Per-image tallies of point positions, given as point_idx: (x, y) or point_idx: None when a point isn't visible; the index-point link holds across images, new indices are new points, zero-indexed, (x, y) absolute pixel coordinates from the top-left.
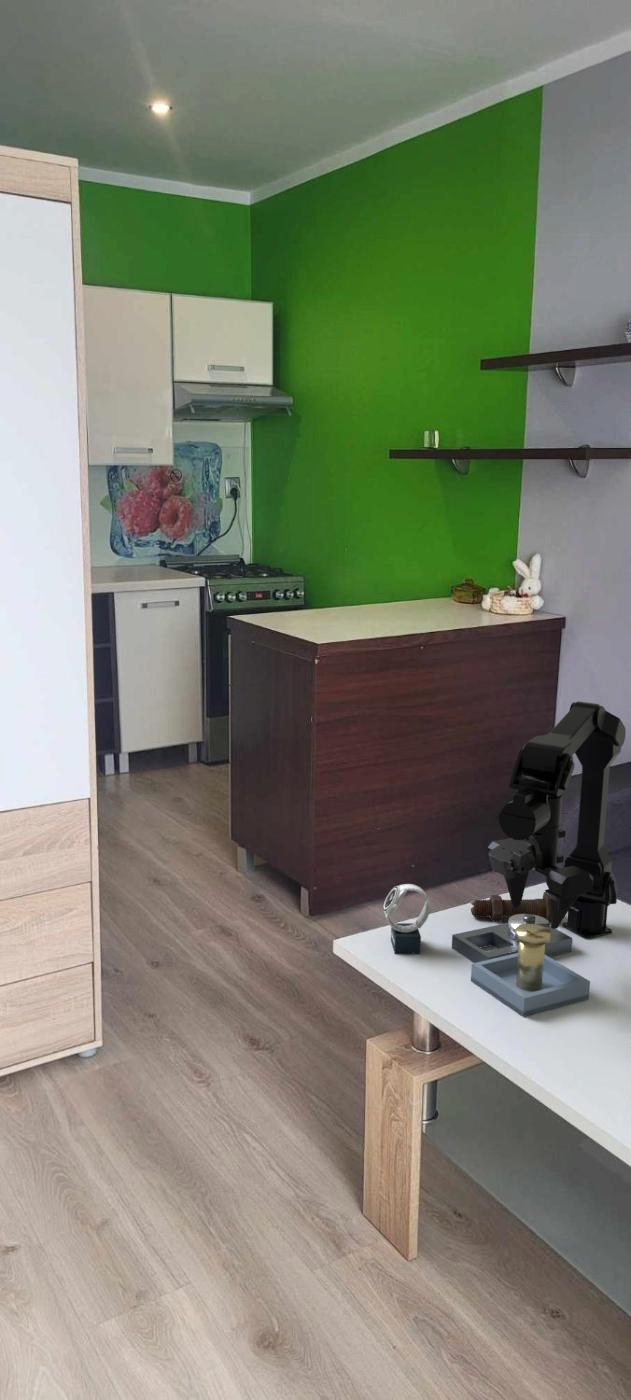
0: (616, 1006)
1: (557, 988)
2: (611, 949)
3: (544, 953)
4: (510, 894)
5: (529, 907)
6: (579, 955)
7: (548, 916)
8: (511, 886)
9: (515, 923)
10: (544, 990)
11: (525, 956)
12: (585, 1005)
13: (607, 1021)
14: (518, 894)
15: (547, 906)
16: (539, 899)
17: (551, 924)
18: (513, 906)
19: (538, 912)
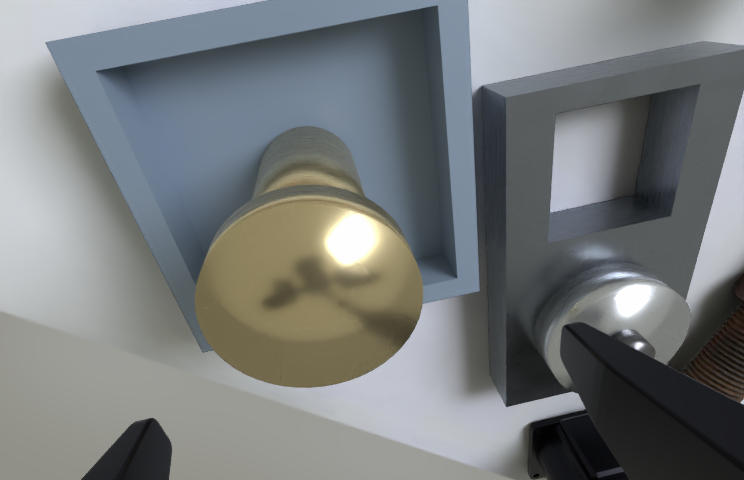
0: (161, 357)
1: (151, 232)
2: (461, 448)
3: (494, 311)
4: (664, 376)
5: (715, 379)
6: (464, 383)
7: None
8: (724, 458)
9: (639, 301)
10: (133, 175)
11: (268, 187)
12: None
13: (61, 302)
14: (623, 428)
15: None
16: None
17: (125, 443)
18: (573, 324)
19: None
